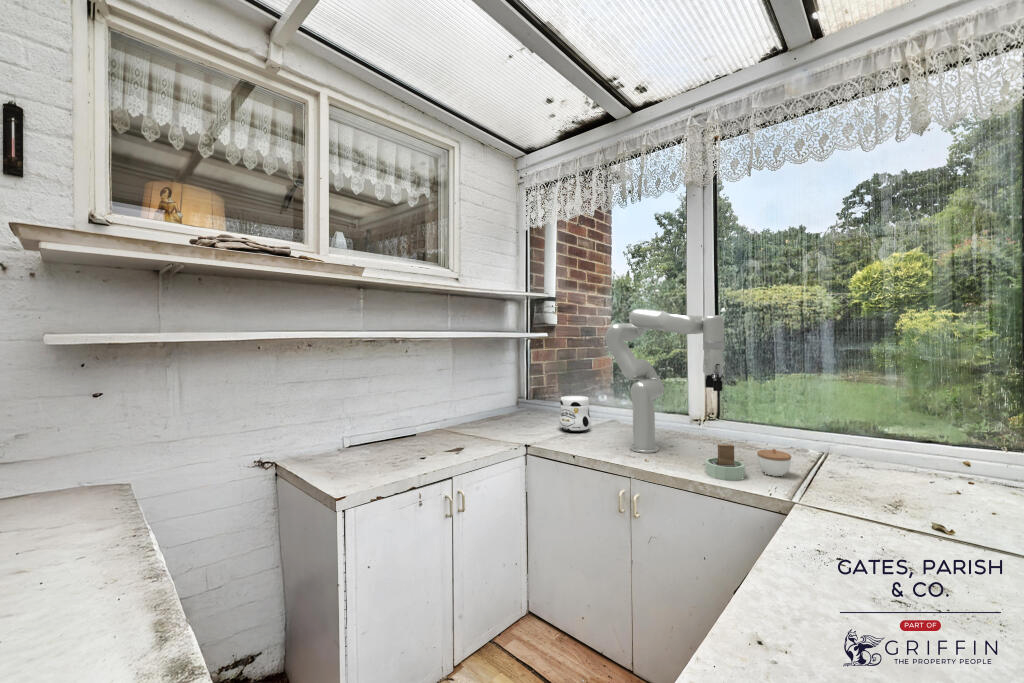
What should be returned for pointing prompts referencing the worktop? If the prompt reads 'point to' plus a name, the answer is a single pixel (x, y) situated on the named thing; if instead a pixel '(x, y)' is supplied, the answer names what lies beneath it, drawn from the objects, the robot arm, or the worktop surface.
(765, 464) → the lidded jar
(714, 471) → the green round dish
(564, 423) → the milk container
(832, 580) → the worktop surface
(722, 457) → the brown wooden block
